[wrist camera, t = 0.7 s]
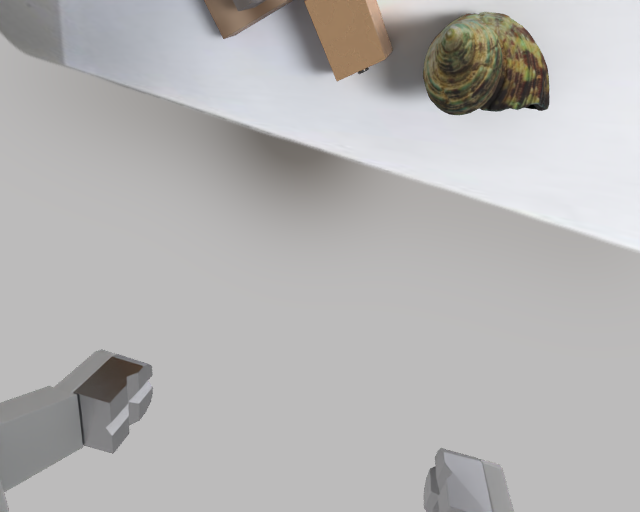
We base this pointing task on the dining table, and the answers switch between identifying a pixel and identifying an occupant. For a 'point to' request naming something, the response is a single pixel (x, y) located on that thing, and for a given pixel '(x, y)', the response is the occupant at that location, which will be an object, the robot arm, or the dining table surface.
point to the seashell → (485, 66)
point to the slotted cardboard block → (350, 34)
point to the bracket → (240, 13)
